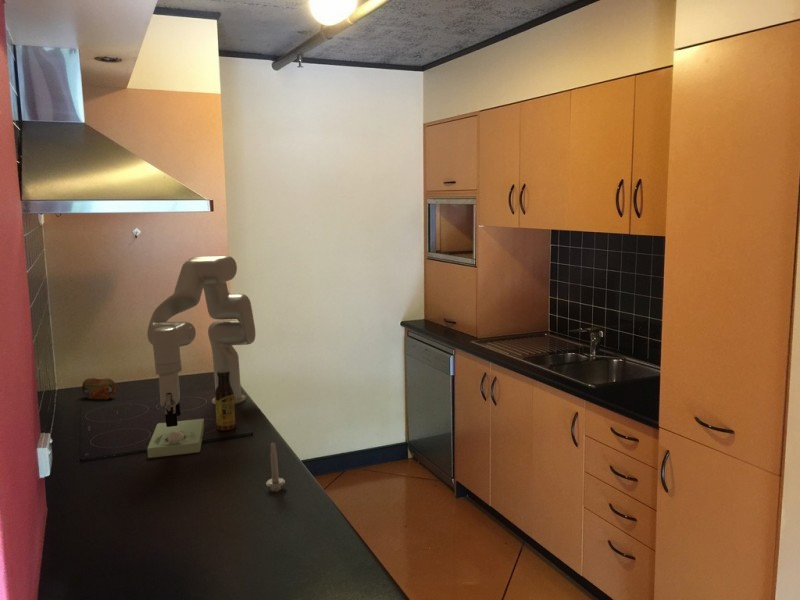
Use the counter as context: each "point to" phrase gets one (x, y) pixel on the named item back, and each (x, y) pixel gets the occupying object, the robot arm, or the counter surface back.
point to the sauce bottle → (224, 402)
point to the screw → (274, 471)
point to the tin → (99, 388)
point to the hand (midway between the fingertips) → (173, 420)
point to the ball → (175, 436)
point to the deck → (189, 445)
